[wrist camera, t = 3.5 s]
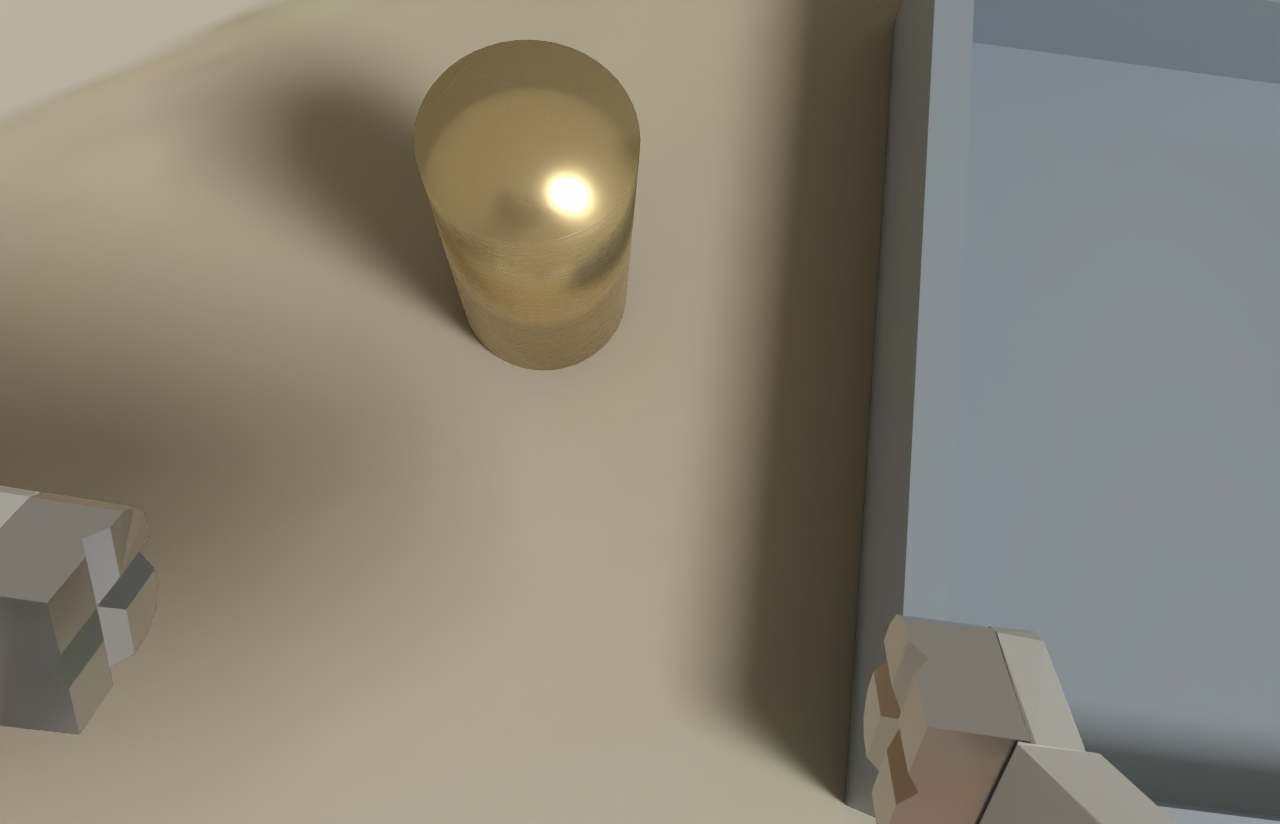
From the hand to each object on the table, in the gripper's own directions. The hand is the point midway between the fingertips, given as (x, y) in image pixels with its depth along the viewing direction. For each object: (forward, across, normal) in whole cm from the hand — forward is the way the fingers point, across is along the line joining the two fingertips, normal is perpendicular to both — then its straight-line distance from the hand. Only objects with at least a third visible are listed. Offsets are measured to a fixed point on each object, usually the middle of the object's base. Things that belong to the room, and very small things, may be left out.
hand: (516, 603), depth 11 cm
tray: (+16, +15, -5) cm, 23 cm away
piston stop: (+17, -2, -4) cm, 17 cm away
